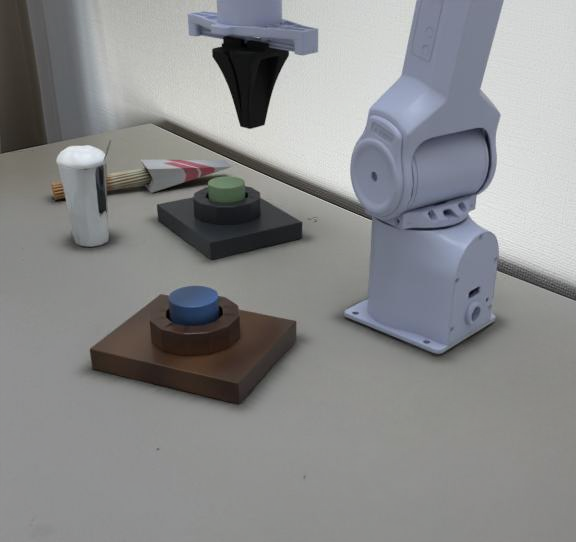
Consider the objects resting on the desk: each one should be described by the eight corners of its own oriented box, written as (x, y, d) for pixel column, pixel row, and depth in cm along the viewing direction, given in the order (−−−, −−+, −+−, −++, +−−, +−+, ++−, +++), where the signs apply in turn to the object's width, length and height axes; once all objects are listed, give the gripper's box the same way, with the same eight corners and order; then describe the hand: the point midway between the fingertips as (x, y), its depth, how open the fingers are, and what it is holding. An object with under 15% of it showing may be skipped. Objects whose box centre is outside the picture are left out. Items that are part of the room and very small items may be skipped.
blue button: (227, 311, 65) (227, 290, 64) (204, 332, 62) (203, 310, 61) (185, 303, 66) (184, 282, 65) (160, 323, 63) (158, 301, 62)
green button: (252, 201, 85) (251, 183, 84) (219, 208, 83) (218, 190, 82) (234, 191, 88) (233, 173, 87) (202, 197, 86) (201, 180, 85)
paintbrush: (232, 155, 98) (53, 184, 92) (234, 179, 99) (58, 209, 93) (222, 146, 101) (48, 173, 95) (224, 169, 102) (52, 197, 97)
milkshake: (113, 252, 82) (101, 146, 77) (60, 247, 83) (44, 143, 78) (130, 234, 86) (119, 132, 81) (79, 230, 87) (65, 129, 82)
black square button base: (302, 238, 85) (302, 203, 83) (210, 259, 80) (209, 223, 79) (243, 202, 94) (242, 170, 92) (157, 220, 89) (155, 186, 87)
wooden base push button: (296, 340, 67) (296, 299, 65) (239, 404, 59) (237, 359, 58) (162, 312, 71) (159, 273, 69) (91, 369, 64) (85, 326, 62)
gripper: (157, -37, 76) (169, 120, 83) (276, -24, 68) (278, 149, 75) (217, -43, 81) (223, 106, 88) (336, -32, 72) (332, 133, 79)
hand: (252, 125), depth 81 cm, fingers closed
